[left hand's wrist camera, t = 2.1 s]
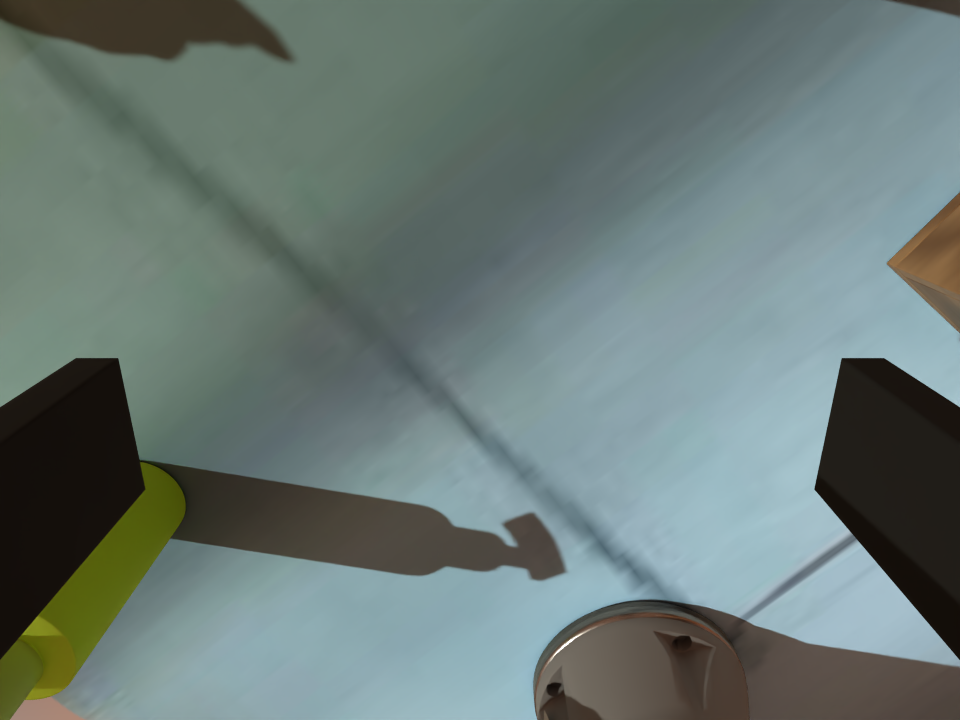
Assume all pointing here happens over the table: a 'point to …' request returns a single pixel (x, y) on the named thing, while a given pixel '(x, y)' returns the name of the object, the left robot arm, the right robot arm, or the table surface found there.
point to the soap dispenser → (91, 597)
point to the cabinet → (935, 263)
